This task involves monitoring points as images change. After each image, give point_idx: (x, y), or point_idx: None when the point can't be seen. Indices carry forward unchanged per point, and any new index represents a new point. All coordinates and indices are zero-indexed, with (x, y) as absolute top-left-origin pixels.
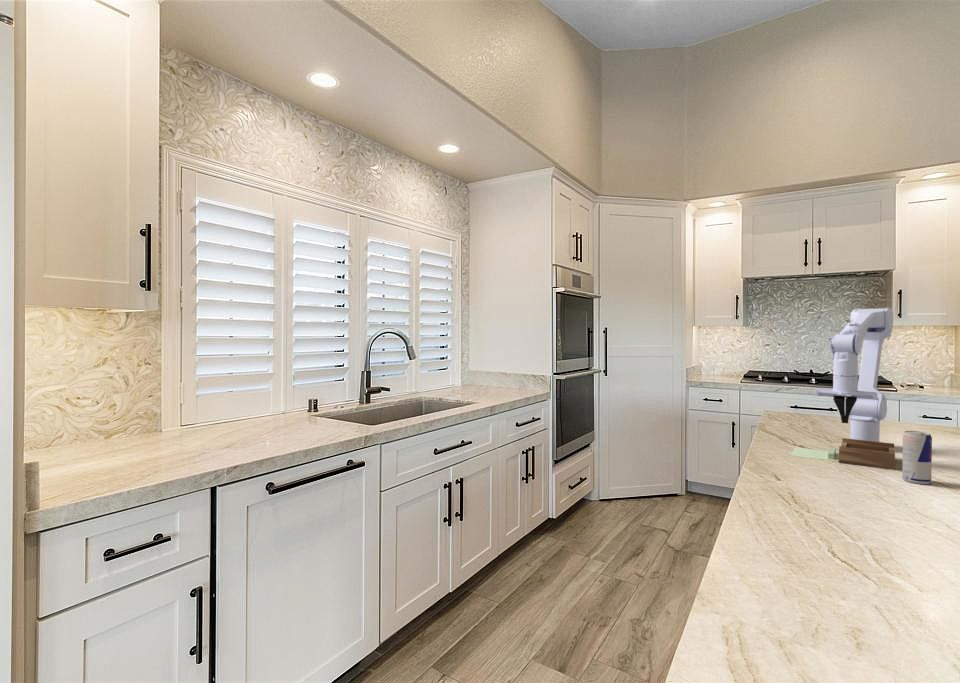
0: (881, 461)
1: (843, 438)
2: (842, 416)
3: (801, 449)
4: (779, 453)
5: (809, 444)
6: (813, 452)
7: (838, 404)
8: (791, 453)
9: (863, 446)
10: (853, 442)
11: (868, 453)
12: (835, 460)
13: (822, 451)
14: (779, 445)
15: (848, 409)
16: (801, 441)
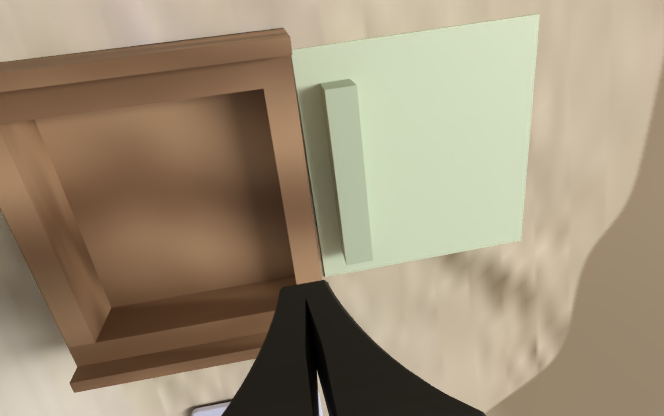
0: (41, 60)
1: None
2: (329, 313)
3: (491, 210)
4: (592, 31)
5: (466, 344)
6: (434, 185)
7: (407, 395)
8: (533, 71)
9: (220, 314)
10: None
11: (103, 57)
12: (309, 66)
13: (399, 241)
14: (587, 231)
15: (272, 380)
16: (499, 374)
